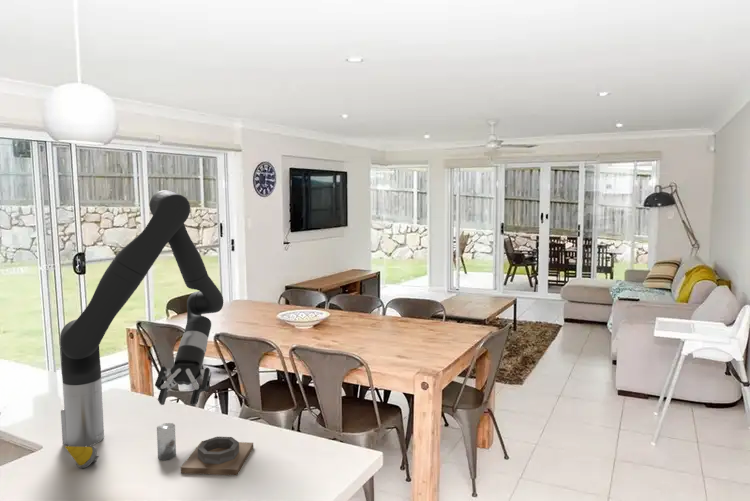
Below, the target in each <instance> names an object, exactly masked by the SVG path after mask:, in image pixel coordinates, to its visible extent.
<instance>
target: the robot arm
mask: <svg viewBox="0 0 750 501" xmlns="http://www.w3.org/2000/svg"><path fill="white" fill-rule="evenodd" d="M190 204H191V203H190V201H189V200H188V199H187V198H186V197H185V196H184V195H183V194H180V193H178V192H174V191H171V190H167V189H165V190H163V189H162V190H159V191H157V192H156V193H154V194H153V195H152V196H151V197H150V200H149V206H148V207H149V210H150V213H151V215H152V217H151V219H150V220H149V222H148V223H147V224H146V226H145V228H144V229H143V230H142V231H141V232H140V234H138V235H137V237H135V238H134V239H133V240H131V241H130V242H129V243H127V244H126V245H125V246H124V247H122V248H121V250H120V251H119V252H118V253H117V254H116V256H115V257H114V259H112V261H111V262H110V263H109V265H108V267H107V268H106V269H105V272H104V273H103V275H102V276H101V278H100V280H99V282H98V284H97V285H96V288H95V291H94V293H93V295H92V297H91V300H90V301H89V303H88V304H87V306H86V307H85V309H84V310H83V311H82V313H81V314H80V315H79V316H78V317H77V319H73V320H71V321H68V322H67V323H66V324H65V325H64V326H63V327H62V329H61V332H60V337H59V344H60V358H61V360H60V361H61V376H62V377H61V379H62V391H63V393H62V394H63V408H62V409H61V410H60V420H61V421H60V422H61V423H60V424H61V438H62V441H61V442H62V445H65V446H78V447H87V446H89V445H91V446H93V445H96V444H98V443H99V442H101V441H103V439H104V437H105V428H104V427H105V426H104V405H103V404H104V403H103V388H102V387H103V385H102V384H103V383H102V368H101V367H102V366H101V356H100V353H101V352H100V344H101V342H102V340H103V338H104V336H105V334H106V333H107V331H108V329H109V327H110V325H111V323H112V322H113V320H115V317H116V316H117V315H118V313H119V312H121V309H123V308H124V306H125V305H126V303H127V302H128V300H129V299H131V297H132V295H133V294H134V293H135V291H136V290H137V288H138V287H139V286H140V284H141V283H142V281H143V280H144V279H145V277H146V276H147V274H148V273H149V271H150V269H151V268H152V266H153V265H154V263H155V262H156V260H157V258H159V256H160V254H161V253H162V251H163V250H164V248H165V247H166V246H167V244H168V245H169V246H170V249H171V251H172V254H173V256H174V259H175V262H176V263H177V266H178V269H179V271H180V274H181V276H182V279H183V282H184V284H185V286H186V287H187V288H188V289H191V290H197V291H194V292H192V293H191V294H190V295H189V296H188V298H187V300H186V310H187V311H186V325H185V328H184V332H183V334H182V337H181V339H180V342H179V344H178V349H177V352H176V355H175V359H174V362H173V366H172V367H171V368H167V367H166V366H163V365H162V366H161V367H160V370H159V373H158V375H157V378H156V380H155V383H154V386H155V387H156V388H157V390H158V391H159V394H158V397H157V401H158V402H159V405H160V406H164V405H165V402H166V400H167V397H168V394H169V393H168V391H169V390H171V389H172V388H174V387H175V386H176V385H181V386H182V385H187V386H190V385H191V384H192V386H193V387H194V390H192V395H191V398H190V402H189V403H190V405H191V407H195V406H196V405H198V402H199V399H200V395H201V393H202V392H208V391H209V388H210V383H211V376H212V371H211V369H210V368H209V367H205V369H204V368H203V369H202V366H203V363H204V358H205V355H206V352H207V348H208V341H209V336H210V332H211V328H212V321H211V320H210V318H209V317H206V316H204V315H205V314H215V313H218V312H220V311H221V310H222V309H223V308H224V307H223V306H224V296H223V295H222V292H221V291H220V290H219V288H218V286H217V285H216V284H215V283H214V281H213V280H212V278H211V277H210V276H209V274H208V272H207V268H206V266H205V263H204V261H203V258H202V256H201V254H200V252H199V251H198V248H197V247H196V245H195V243H194V242H193V240H192V239H191V236H190V235H189V232H188V230H187V228H186V226H185V223H186V222H187V220H188V218H189V216H190V213H191V205H190ZM170 374H171V375H170ZM169 375H170V376H169ZM200 376H202V377H203V378H202V382H201V384H199V383H198V381H197V379H198V378H200ZM167 377H168V378H167ZM166 378H167V379H166Z"/></svg>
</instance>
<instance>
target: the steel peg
mask: <svg viewBox="0 0 750 501" xmlns="http://www.w3.org/2000/svg"><path fill="white" fill-rule="evenodd" d="M156 440H157V442H156V443H157V444H156V445H157V459H158V460H160V461H170V460H172V459H174V458H175V457H176V456H177V446H176V444H177V443H176V441H177V440H176V425H175V423H173V422H172V423H171V422H166V423H165V422H164V423H161V424H159V425H157V427H156Z"/></svg>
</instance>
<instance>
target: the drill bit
mask: <svg viewBox="0 0 750 501" xmlns="http://www.w3.org/2000/svg"><path fill="white" fill-rule="evenodd" d="M64 448H65V449H66V451H68V453H69V454H70V456H71V457H72V458H73V459H74V460H75V463H76V464H75V465H76V466H77V467H78V468H81V469H86V468H87V467H88V466H90V465H91V464H92V463H95V462H97V459H98V458H99V457H100V456H99V455H97V451H98V450H97V448H96V447H95V446H93V445H89V446H85V447H78V446H68V445H65V446H64Z"/></svg>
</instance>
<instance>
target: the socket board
mask: <svg viewBox="0 0 750 501" xmlns="http://www.w3.org/2000/svg"><path fill="white" fill-rule="evenodd" d="M253 450H254V442H243V441H241V442H239V441H238V440H237V439H236V438H234V437H232V436H214V437H211V438H208V439H205V440H201V441H200V443H199V444H198V445H197V447H195V449H194V450H193V452H191V454H190V455H189V457H187V459H186V460H185V461H184V462H183V464H182V465H181V466H180V474H187V475H189V474H191V475H218V476H219V475H220V476H238V475H239V473H240V472H241V470H242V469H243V466H244V465H245V464H246V461H247V460H248V458H249V457H250V455H251V453H252V451H253Z"/></svg>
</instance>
